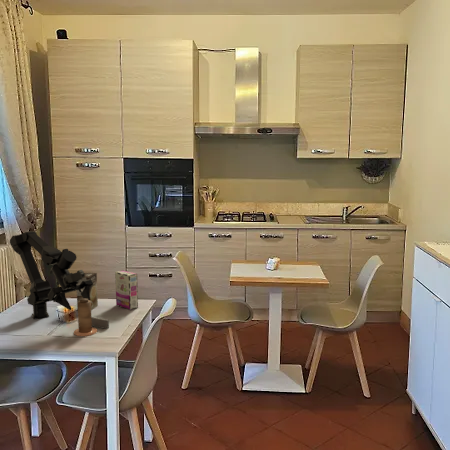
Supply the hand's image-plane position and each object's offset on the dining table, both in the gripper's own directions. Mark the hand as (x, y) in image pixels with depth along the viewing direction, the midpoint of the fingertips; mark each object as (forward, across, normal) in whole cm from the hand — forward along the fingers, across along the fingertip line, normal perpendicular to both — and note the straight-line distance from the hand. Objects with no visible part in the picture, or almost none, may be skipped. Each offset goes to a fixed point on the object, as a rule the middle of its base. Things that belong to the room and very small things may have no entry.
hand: (80, 306), depth 195 cm
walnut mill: (+8, 0, +5) cm, 10 cm away
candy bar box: (+1, +32, +14) cm, 35 cm away
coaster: (+9, 0, +5) cm, 10 cm away
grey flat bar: (+8, +7, +6) cm, 12 cm away
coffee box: (-8, +20, +23) cm, 31 cm away
